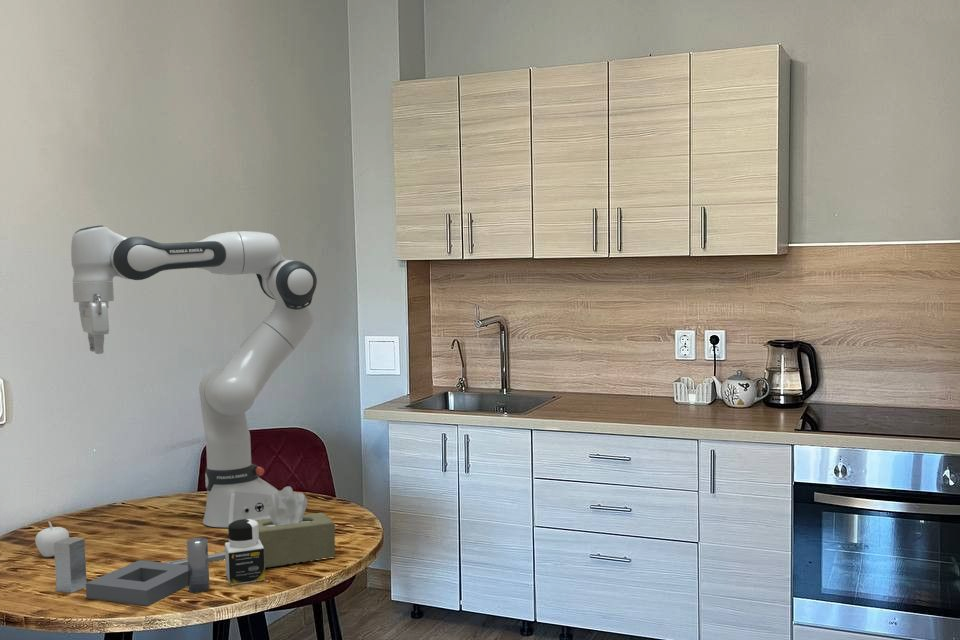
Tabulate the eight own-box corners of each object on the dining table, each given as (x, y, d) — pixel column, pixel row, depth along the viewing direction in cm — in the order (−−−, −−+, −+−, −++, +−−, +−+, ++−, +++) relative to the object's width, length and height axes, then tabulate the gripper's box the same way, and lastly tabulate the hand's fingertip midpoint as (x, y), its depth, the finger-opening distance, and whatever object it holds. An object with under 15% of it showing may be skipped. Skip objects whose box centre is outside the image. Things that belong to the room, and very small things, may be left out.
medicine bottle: (229, 586, 184) (227, 527, 183) (225, 575, 190) (223, 519, 190) (265, 580, 186) (263, 523, 186) (260, 570, 193) (258, 515, 193)
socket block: (139, 573, 193) (139, 560, 193) (197, 580, 188) (197, 566, 187) (86, 598, 179) (85, 583, 179) (147, 606, 174) (146, 590, 173)
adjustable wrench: (158, 574, 194) (157, 566, 194) (155, 566, 200) (155, 558, 200) (275, 555, 205) (274, 547, 204) (269, 548, 210) (268, 540, 210)
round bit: (207, 584, 185) (205, 536, 184) (211, 590, 181) (209, 541, 181) (187, 588, 183) (185, 539, 183) (190, 594, 180) (188, 544, 179)
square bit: (71, 584, 187) (69, 537, 187) (86, 586, 186) (84, 538, 185) (56, 591, 184) (53, 542, 183) (71, 593, 182) (69, 544, 182)
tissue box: (324, 546, 209) (323, 478, 208) (336, 558, 200) (335, 487, 200) (241, 557, 201) (240, 486, 200) (250, 570, 192) (249, 496, 191)
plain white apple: (28, 558, 206) (27, 523, 206) (53, 549, 213) (51, 515, 213) (52, 560, 204) (50, 525, 204) (76, 551, 211) (74, 517, 210)
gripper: (114, 294, 207) (117, 354, 208) (102, 293, 225) (105, 349, 226) (84, 295, 204) (87, 356, 205) (74, 294, 222) (77, 350, 223)
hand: (96, 352), depth 216 cm, fingers open, 8 cm apart
